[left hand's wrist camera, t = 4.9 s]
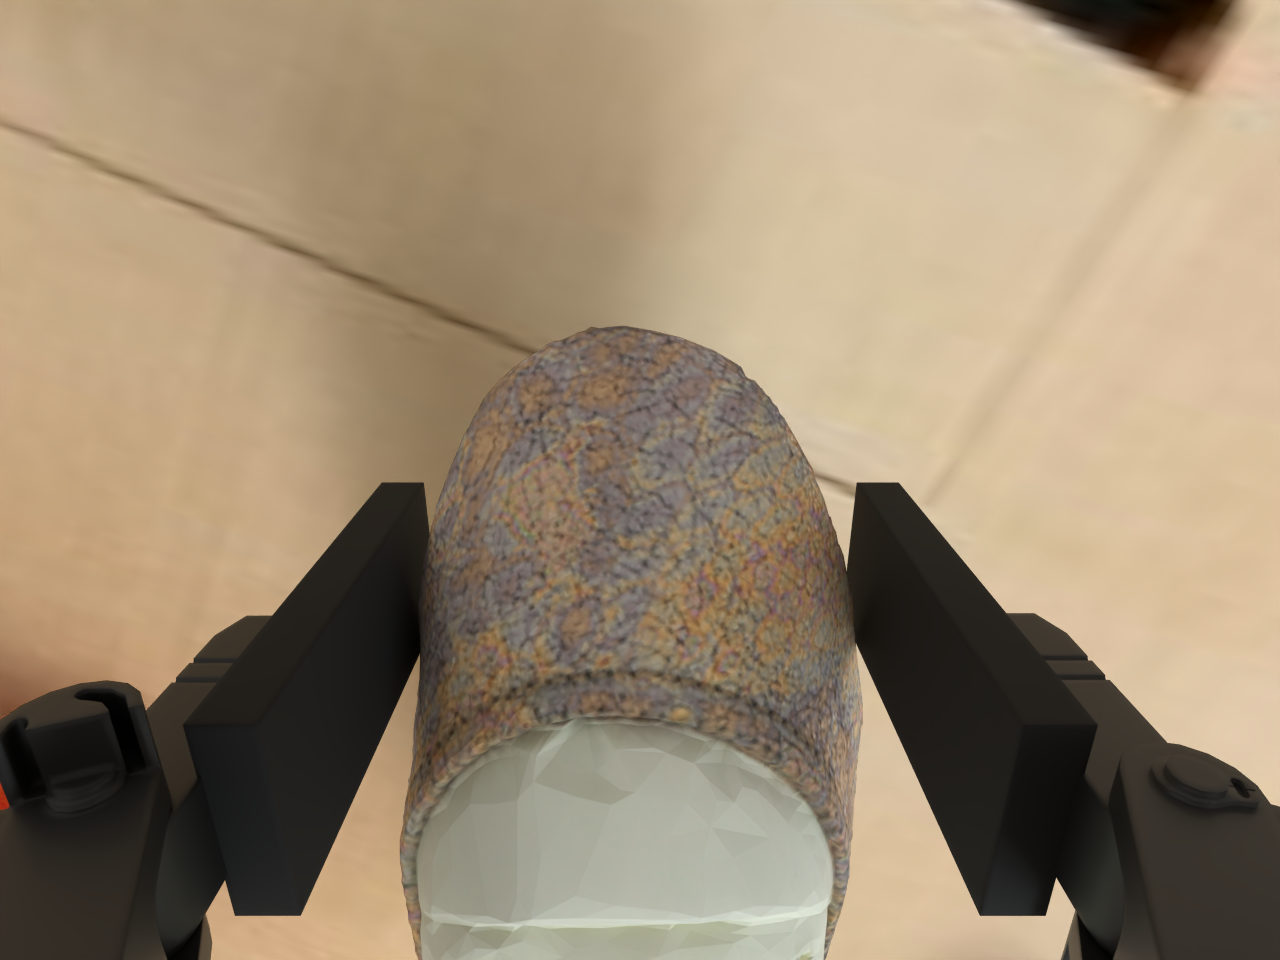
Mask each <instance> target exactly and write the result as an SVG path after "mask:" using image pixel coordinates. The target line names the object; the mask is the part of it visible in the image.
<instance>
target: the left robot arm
mask: <svg viewBox="0 0 1280 960" xmlns="http://www.w3.org/2000/svg"><path fill="white" fill-rule="evenodd" d="M429 536H430V533H429V525H428V516H427V507H426V498H425V489H424V483H381V484H380V486H379V487H378V488H377V489H376V490H375V492H374V493H373V494H372V495H371V496H370V498H369V499H368V500H367V501H366V503H365V504H364V505H363V506H362V507H361V509H360V510H359V511H358V512H357V513H356V515H355V516H354V517H353V518H352V520H351V521H350V522H349V523H348V524H347V526H346V527H345V528H344V529H343V530H342V532H341V533H340V534H339V535H338V537H337V538H336V539H335V540H334V541H333V543H332V544H331V545H330V546H329V547H328V549H327V550H326V551H325V552H324V554H323V555H322V556H321V557H320V558H319V560H318V561H317V562H316V563H315V564H314V566H313V567H312V568H311V569H310V571H309V572H308V573H307V574H306V575H305V577H304V578H303V579H302V580H301V581H300V583H299V584H298V585H297V586H296V588H295V589H294V590H293V591H292V592H291V594H290V595H289V596H288V597H287V598H286V600H285V601H284V602H283V603H282V605H281V606H280V607H279V608H278V609H277V611H276V612H275V613H274V614H273V615H272V616H246V617H244V618H242V619H241V620H239V621H237V622H236V623H234V624H233V625H231V626H229V627H228V628H226V629H224V630H223V631H221V632H220V633H218V634H216V635H215V636H214V637H213V638H212V639H211V640H210V641H209V642H208V643H207V645H206V646H205V647H204V648H203V649H202V650H201V651H200V652H199V653H198V654H197V655H196V657H195V658H194V662H193V663H189V664H188V665H187V666H186V668H185V669H184V670H183V671H182V672H181V673H180V674H179V675H178V676H177V677H176V682H175V683H171V684H170V685H169V686H168V687H167V688H166V689H165V691H164V692H163V693H162V694H161V695H160V696H159V697H158V698H157V699H156V700H155V702H154V703H153V704H152V705H151V706H150V707H149V708H148V709H147V710H145V707H144V703H143V700H142V696H141V693H140V691H138V690H137V689H136V688H134V687H133V686H131V685H130V684H128V683H122V682H115V681H98V682H89V683H81V684H77V685H73V686H70V687H66V688H63V689H60V690H56V691H53V692H50V693H47V694H45V695H43V696H41V697H39V698H37V699H34V700H32V701H30V702H28V703H26V704H24V705H22V706H20V707H19V708H17V709H16V710H14V711H13V712H11V713H10V714H9V715H7V716H6V717H4V718H3V719H1V720H0V783H1V786H2V788H3V791H4V793H5V796H6V798H7V801H8V803H9V807H8V808H6V809H3V810H0V960H211V949H212V939H211V933H210V928H209V924H208V920H207V917H206V914H205V913H206V912H207V910H208V908H209V906H210V905H211V903H212V901H213V900H214V898H215V896H216V894H217V893H218V891H219V889H220V888H221V886H222V884H223V882H224V881H226V885H227V888H228V892H229V896H230V899H231V903H232V907H233V910H234V914H235V916H301V914H302V912H303V909H304V907H305V905H306V903H307V901H308V898H309V896H310V894H311V892H312V890H313V887H314V885H315V883H316V881H317V879H318V876H319V874H320V872H321V870H322V868H323V865H324V863H325V861H326V859H327V857H328V854H329V852H330V850H331V848H332V846H333V843H334V841H335V839H336V837H337V835H338V832H339V830H340V828H341V826H342V824H343V821H344V819H345V817H346V815H347V813H348V810H349V808H350V806H351V804H352V802H353V799H354V797H355V795H356V793H357V791H358V788H359V786H360V784H361V782H362V780H363V777H364V775H365V773H366V771H367V768H368V766H369V764H370V762H371V760H372V757H373V755H374V753H375V751H376V749H377V746H378V744H379V742H380V740H381V738H382V735H383V733H384V731H385V729H386V727H387V724H388V722H389V720H390V718H391V716H392V713H393V711H394V709H395V707H396V705H397V702H398V700H399V698H400V696H401V694H402V691H403V689H404V687H405V685H406V683H407V680H408V678H409V676H410V674H411V672H412V669H413V667H414V665H415V663H416V661H417V658H418V656H419V654H420V631H419V606H418V604H419V592H420V584H421V577H422V571H423V564H424V558H425V554H426V549H427V545H428V540H429ZM847 577H848V582H849V586H850V590H851V594H852V601H853V609H854V621H855V623H854V632H855V636H856V640H855V642H856V644H857V646H858V649H859V651H860V653H861V655H862V657H863V660H864V662H865V664H866V666H867V668H868V671H869V673H870V675H871V677H872V679H873V682H874V684H875V686H876V688H877V690H878V693H879V695H880V697H881V699H882V701H883V704H884V706H885V708H886V710H887V712H888V715H889V717H890V719H891V721H892V723H893V726H894V728H895V730H896V732H897V734H898V737H899V739H900V741H901V743H902V745H903V748H904V750H905V752H906V754H907V756H908V759H909V761H910V763H911V765H912V767H913V770H914V772H915V774H916V776H917V778H918V781H919V783H920V785H921V787H922V789H923V792H924V794H925V796H926V798H927V800H928V803H929V805H930V807H931V809H932V811H933V814H934V816H935V818H936V820H937V822H938V825H939V827H940V829H941V831H942V833H943V836H944V838H945V840H946V842H947V844H948V847H949V849H950V851H951V853H952V855H953V858H954V860H955V862H956V864H957V866H958V869H959V871H960V873H961V875H962V877H963V880H964V882H965V884H966V886H967V888H968V891H969V893H970V895H971V897H972V899H973V902H974V904H975V906H976V908H977V910H978V913H979V915H980V916H1046V912H1047V909H1048V905H1049V902H1050V898H1051V894H1052V891H1053V887H1054V883H1055V880H1056V878H1057V879H1058V881H1059V883H1060V884H1061V886H1062V888H1063V889H1064V891H1065V893H1066V895H1067V896H1068V898H1069V900H1070V901H1071V903H1072V905H1073V906H1074V908H1075V914H1074V917H1073V920H1072V924H1071V927H1070V931H1069V934H1068V937H1067V941H1066V944H1065V948H1064V951H1063V954H1062V958H1061V960H1280V807H1279V806H1275V805H1272V804H1270V802H1269V801H1268V800H1267V798H1266V797H1265V796H1264V794H1263V793H1262V791H1261V790H1260V789H1259V787H1258V786H1257V785H1256V784H1255V783H1253V782H1252V781H1251V780H1250V779H1248V778H1247V777H1246V776H1245V775H1243V774H1242V773H1241V772H1239V771H1238V770H1237V769H1236V768H1234V767H1232V766H1230V765H1228V764H1226V763H1225V762H1223V761H1221V760H1219V759H1217V758H1215V757H1213V756H1211V755H1209V754H1207V753H1204V752H1201V751H1198V750H1195V749H1192V748H1189V747H1186V746H1183V745H1179V744H1171V743H1167V742H1166V741H1165V740H1164V739H1163V738H1162V736H1161V735H1160V734H1159V733H1158V732H1157V731H1156V730H1155V729H1154V728H1153V727H1152V726H1151V724H1150V723H1149V722H1148V721H1147V720H1146V719H1145V718H1144V717H1143V716H1142V715H1141V714H1140V713H1139V711H1138V710H1137V709H1136V708H1135V707H1134V706H1133V705H1132V704H1131V703H1130V702H1129V701H1128V699H1127V698H1126V697H1125V696H1124V695H1123V694H1122V693H1121V692H1120V691H1119V690H1118V689H1117V687H1116V686H1115V685H1114V684H1113V683H1112V682H1111V681H1110V680H1106V679H1105V674H1104V673H1103V672H1102V671H1101V670H1100V669H1099V668H1098V667H1097V666H1096V665H1095V664H1094V662H1093V661H1088V658H1087V657H1088V656H1087V655H1086V654H1085V653H1084V652H1083V650H1082V649H1081V648H1080V647H1079V646H1078V645H1077V644H1076V643H1075V642H1074V641H1073V640H1072V638H1071V637H1070V636H1069V635H1068V634H1067V633H1066V632H1064V631H1062V630H1061V629H1059V628H1057V627H1056V626H1054V625H1053V624H1051V623H1049V622H1048V621H1046V620H1044V619H1043V618H1041V617H1039V616H1038V615H1036V614H1035V613H1006V612H1005V611H1004V610H1003V609H1002V607H1001V606H1000V605H999V604H998V603H997V601H996V600H995V599H994V598H993V597H992V595H991V594H990V593H989V592H988V590H987V589H986V588H985V587H984V586H983V584H982V583H981V582H980V581H979V580H978V578H977V577H976V576H975V575H974V574H973V572H972V571H971V570H970V569H969V567H968V566H967V565H966V564H965V563H964V561H963V560H962V559H961V558H960V557H959V555H958V554H957V553H956V552H955V550H954V549H953V548H952V547H951V546H950V544H949V543H948V542H947V541H946V540H945V538H944V537H943V536H942V535H941V533H940V532H939V531H938V530H937V529H936V527H935V526H934V525H933V524H932V523H931V521H930V520H929V519H928V518H927V516H926V515H925V514H924V513H923V512H922V510H921V509H920V508H919V507H918V506H917V504H916V503H915V502H914V501H913V499H912V498H911V497H910V496H909V495H908V493H907V492H906V491H905V490H904V489H903V487H902V486H901V485H900V484H899V483H857V485H856V494H855V503H854V512H853V521H852V529H851V538H850V547H849V556H848V564H847Z"/></svg>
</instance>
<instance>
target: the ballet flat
mask: <svg viewBox="0 0 1280 960" xmlns="http://www.w3.org/2000/svg"><path fill="white" fill-rule="evenodd" d="M418 606H419V631H420V680H419V687H418V694H417V695H418V702H417V708H416V714H415V722H414V743H413V763H412V769H411V776H410V778H409V780H408V781H409V785H408V791H407V797H406V802H405V811H404V816H403V828H402V832H401V837H400V864H401V870H402V885H403V888H404V895H405V897H406V906H407V910H408V917H409V923H410V926H411V928H412V933H413V939H414V943H415V952H416V954H417V957H418V959H419V960H825V958H826V956H827V953H828V949H829V945H830V943H831V940H832V937H833V934H834V931H835V927H836V924H837V921H838V918H839V915H840V913H841V909H842V906H843V901H844V897H845V893H846V888H847V883H848V879H849V858H850V848H851V840H852V824H853V809H854V797H855V788H856V769H857V761H858V751H859V742H860V733H861V726H862V724H863V710H862V694H861V686H860V678H859V670H858V662H857V651H856V642H855V640H856V636H855V632H854V623H855V621H854V609H853V601H852V594H851V590H850V586H849V582H848V577H847V572H846V566H845V561H844V556H843V553H842V550H841V548H840V545H839V544H838V540H837V535H836V531H835V529H834V527H833V525H832V521H831V517H830V516H829V514H828V511H827V508H826V504H825V501H824V498H823V496H822V493H821V491H820V488H819V486H818V484H817V482H816V479H815V476H814V472H813V469H812V467H811V465H810V464H809V462H808V460H807V458H806V457H805V455H804V453H803V451H802V449H801V447H800V445H799V444H798V442H797V440H796V438H795V436H794V435H793V433H792V431H791V429H790V428H789V426H788V424H787V422H786V421H785V419H784V417H783V416H782V415H781V414H780V413H779V410H778V408H777V406H776V405H774V404H773V402H772V400H771V399H770V397H768V396H767V395H766V394H765V392H764V391H763V389H762V388H760V387H759V385H758V384H757V383H756V382H755V381H754V380H751V379H748V378H747V377H746V376H745V374H744V372H743V370H742V368H741V366H739V365H737V364H736V363H734V362H732V361H731V360H729V359H727V358H726V357H724V356H722V355H721V354H719V353H717V352H716V351H714V350H711V349H709V348H706V347H704V346H701V345H698V344H696V343H693V342H691V341H688V340H686V339H683V338H680V337H676V336H672V335H668V334H664V333H660V332H656V331H651V330H645V329H639V328H633V327H628V326H617V327H607V328H600V329H599V328H594V327H590V328H589V329H587V330H585V331H582V332H579V333H576V334H574V335H572V336H570V337H568V338H566V339H563V340H560V341H554V342H552V343H550V344H547V345H546V346H544V347H543V348H541V349H540V350H538V351H537V352H535V353H534V354H533V355H531V356H530V357H528V358H527V359H525V360H524V361H522V362H521V363H520V364H518V365H517V366H515V367H514V368H513V369H511V370H510V371H509V372H508V373H507V374H506V375H505V376H504V377H503V378H502V379H501V380H499V381H498V382H497V384H496V385H495V386H494V387H493V389H492V390H491V391H490V392H489V393H488V394H487V395H486V397H485V398H484V399H483V401H482V403H481V405H480V407H479V409H478V411H477V413H476V414H475V416H474V418H473V421H472V423H471V424H470V426H469V428H468V430H467V431H466V433H465V434H464V436H463V439H462V442H461V444H460V447H459V449H458V452H457V454H456V457H455V458H454V460H453V463H452V465H451V468H450V470H449V473H448V476H447V479H446V482H445V485H444V487H443V490H442V493H441V495H440V498H439V501H438V503H437V506H436V513H435V518H434V521H433V524H432V527H431V532H430V536H429V540H428V545H427V549H426V554H425V558H424V564H423V571H422V577H421V584H420V592H419V604H418Z"/></svg>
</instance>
